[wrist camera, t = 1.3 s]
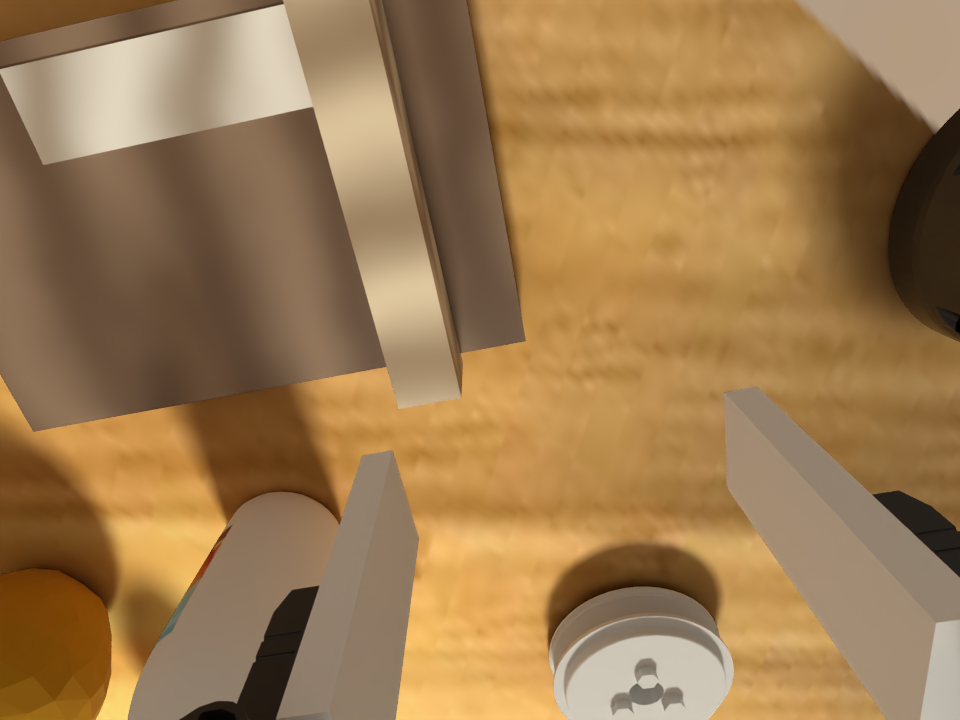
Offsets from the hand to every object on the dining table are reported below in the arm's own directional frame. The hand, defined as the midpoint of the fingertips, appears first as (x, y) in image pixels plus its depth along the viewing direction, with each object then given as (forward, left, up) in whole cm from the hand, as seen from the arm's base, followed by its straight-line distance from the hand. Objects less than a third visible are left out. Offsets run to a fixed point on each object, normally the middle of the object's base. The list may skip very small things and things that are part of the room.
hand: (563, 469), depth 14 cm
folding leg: (+5, -5, -16) cm, 17 cm away
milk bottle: (+18, +15, -19) cm, 30 cm away
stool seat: (+14, -6, -19) cm, 25 cm away
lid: (-4, +30, -20) cm, 36 cm away
